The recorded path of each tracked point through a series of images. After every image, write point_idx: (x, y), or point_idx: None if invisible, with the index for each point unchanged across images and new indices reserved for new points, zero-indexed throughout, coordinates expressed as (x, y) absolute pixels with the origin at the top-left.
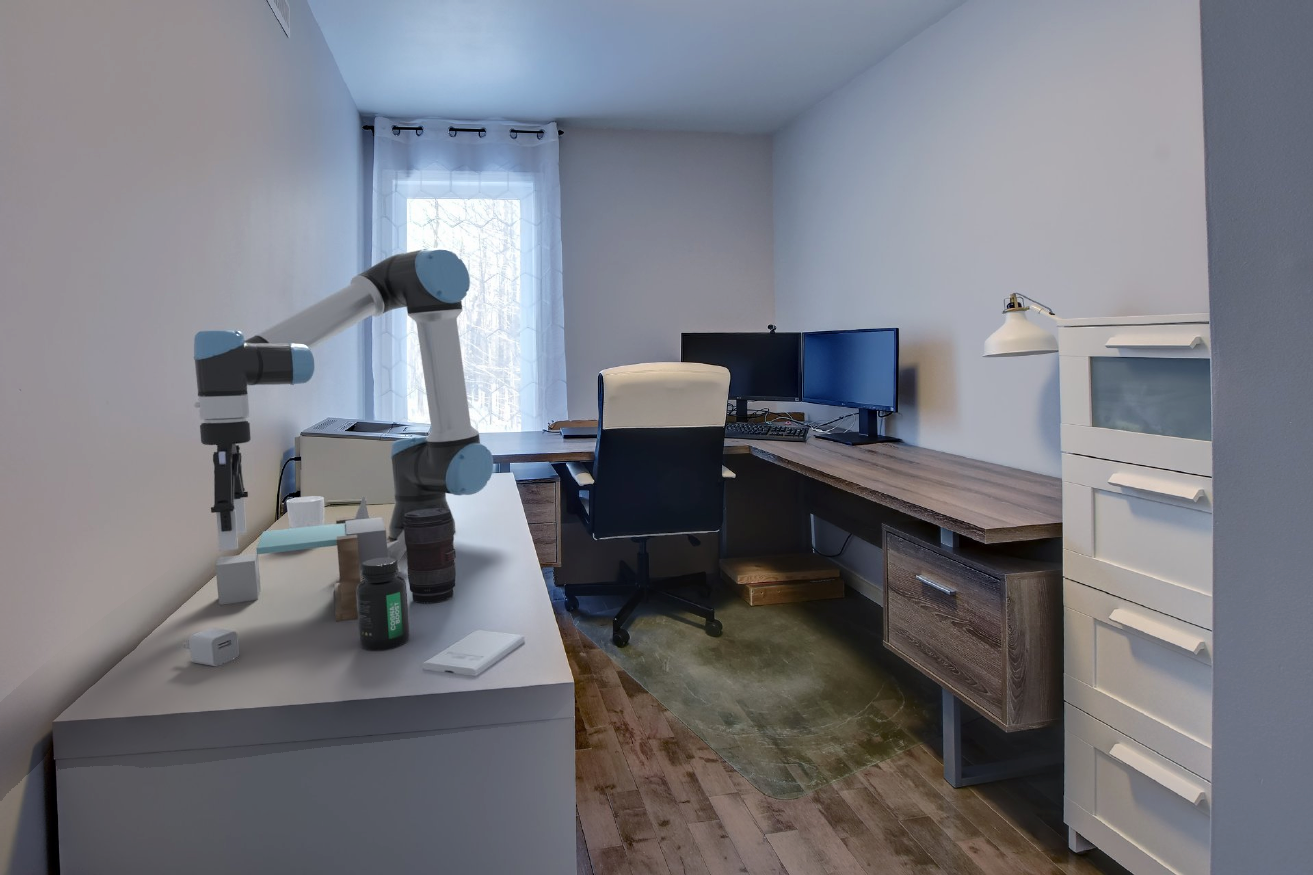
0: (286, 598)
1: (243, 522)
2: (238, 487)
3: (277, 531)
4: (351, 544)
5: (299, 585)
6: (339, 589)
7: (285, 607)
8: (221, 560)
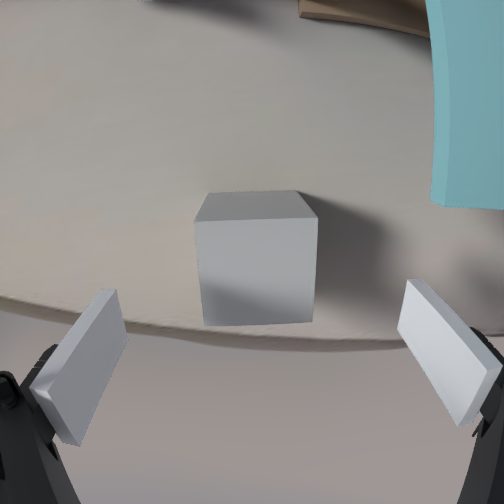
0: (322, 124)
1: (99, 320)
2: (48, 468)
3: (478, 147)
4: None
5: (205, 100)
6: (368, 10)
7: (396, 128)
8: (255, 316)
